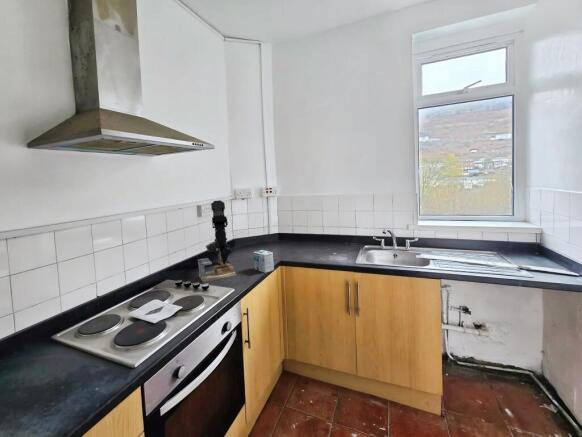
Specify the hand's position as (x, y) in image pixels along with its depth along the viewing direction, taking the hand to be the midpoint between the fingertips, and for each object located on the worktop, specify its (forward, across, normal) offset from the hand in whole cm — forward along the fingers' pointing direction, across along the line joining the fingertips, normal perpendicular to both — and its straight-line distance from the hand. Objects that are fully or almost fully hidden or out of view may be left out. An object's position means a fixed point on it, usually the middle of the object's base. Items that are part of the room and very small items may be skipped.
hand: (223, 263), depth 160 cm
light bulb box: (+7, +7, +22) cm, 24 cm away
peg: (+2, 0, 0) cm, 2 cm away
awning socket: (+6, 0, -4) cm, 8 cm away
